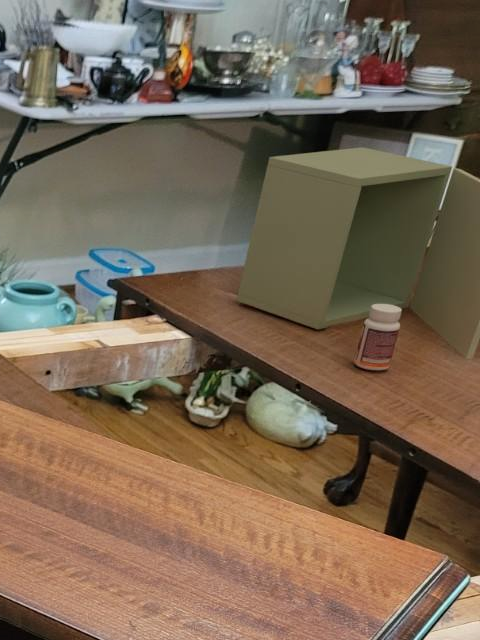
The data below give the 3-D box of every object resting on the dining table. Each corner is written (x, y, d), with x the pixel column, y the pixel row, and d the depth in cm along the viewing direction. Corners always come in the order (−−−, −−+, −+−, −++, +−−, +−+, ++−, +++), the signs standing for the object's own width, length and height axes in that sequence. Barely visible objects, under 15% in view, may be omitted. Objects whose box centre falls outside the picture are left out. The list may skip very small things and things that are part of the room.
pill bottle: (396, 369, 156) (412, 311, 151) (367, 372, 155) (383, 314, 150) (374, 358, 160) (389, 301, 155) (346, 361, 159) (361, 303, 154)
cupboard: (407, 308, 183) (452, 166, 171) (317, 329, 170) (359, 178, 158) (326, 282, 193) (363, 147, 181) (236, 300, 181) (269, 156, 169)
